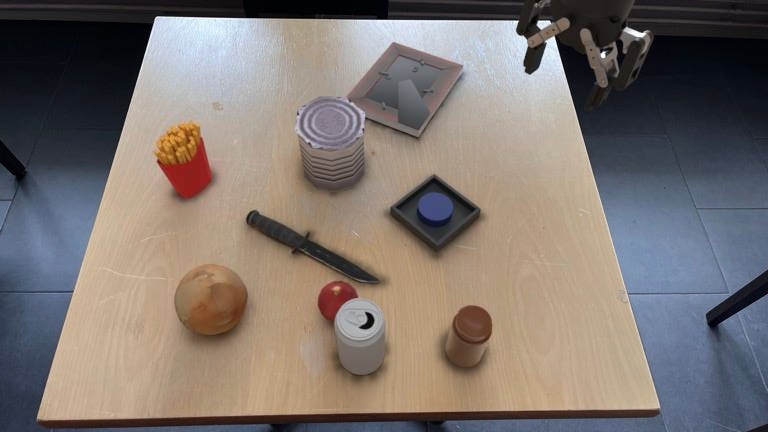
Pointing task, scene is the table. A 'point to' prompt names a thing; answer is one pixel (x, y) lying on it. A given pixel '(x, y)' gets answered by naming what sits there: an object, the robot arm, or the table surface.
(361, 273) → the knife
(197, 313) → the onion
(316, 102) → the can
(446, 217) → the lid
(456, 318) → the jar
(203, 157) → the french fries
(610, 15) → the robot arm
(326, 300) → the onion
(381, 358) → the beverage can
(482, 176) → the table surface
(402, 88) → the picture frame
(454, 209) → the tray
